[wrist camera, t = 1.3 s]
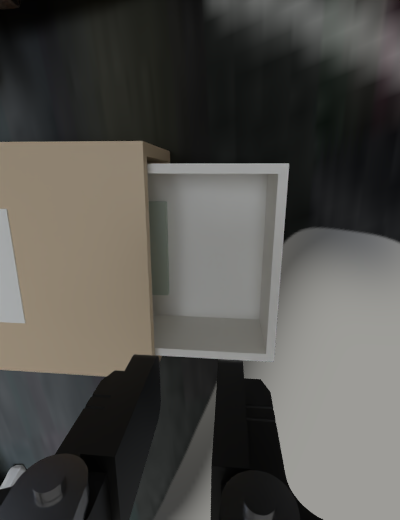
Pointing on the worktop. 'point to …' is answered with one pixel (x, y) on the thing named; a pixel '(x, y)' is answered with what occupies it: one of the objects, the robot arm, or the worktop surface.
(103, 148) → the sleeve
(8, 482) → the white animal figurine
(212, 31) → the worktop surface
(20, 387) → the worktop surface
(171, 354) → the tray
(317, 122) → the worktop surface
